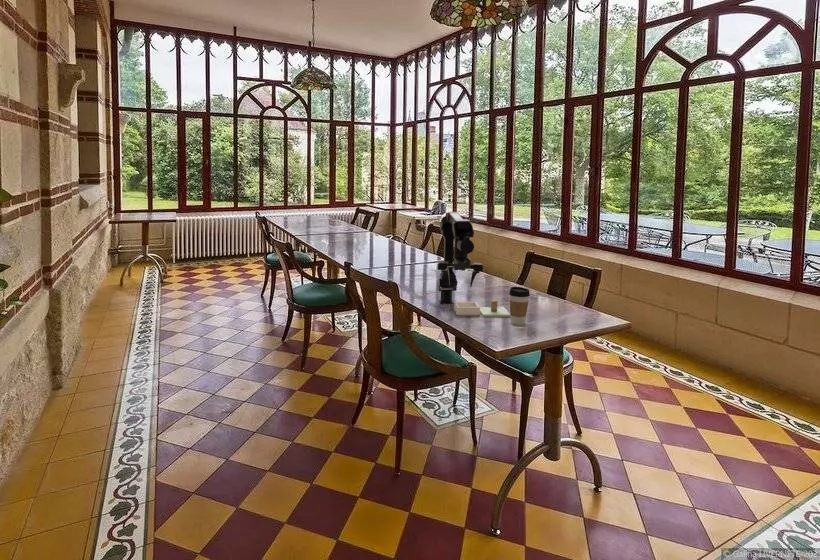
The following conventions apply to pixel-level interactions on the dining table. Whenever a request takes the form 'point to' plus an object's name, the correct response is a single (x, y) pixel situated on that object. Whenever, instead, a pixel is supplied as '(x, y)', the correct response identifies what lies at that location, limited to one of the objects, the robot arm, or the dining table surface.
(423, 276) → the dining table surface
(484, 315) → the lid
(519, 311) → the coffee cup
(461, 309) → the cream square tray
